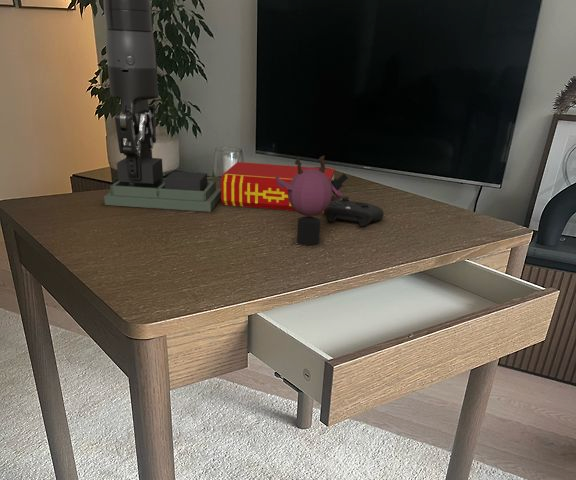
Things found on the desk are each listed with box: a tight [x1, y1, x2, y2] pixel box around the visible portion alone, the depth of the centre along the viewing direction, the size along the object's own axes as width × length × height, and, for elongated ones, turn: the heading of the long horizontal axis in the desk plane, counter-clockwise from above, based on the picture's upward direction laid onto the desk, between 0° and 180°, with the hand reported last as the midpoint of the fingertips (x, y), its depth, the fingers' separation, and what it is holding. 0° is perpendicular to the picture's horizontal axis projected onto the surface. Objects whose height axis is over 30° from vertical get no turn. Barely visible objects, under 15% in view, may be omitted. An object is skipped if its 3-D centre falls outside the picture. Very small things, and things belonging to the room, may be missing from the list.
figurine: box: [275, 155, 349, 246], centre depth 84 cm, size 8×8×12 cm
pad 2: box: [164, 171, 208, 191], centre depth 103 cm, size 6×6×3 cm
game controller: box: [325, 196, 385, 228], centre depth 98 cm, size 10×5×6 cm
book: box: [220, 161, 336, 214], centre depth 106 cm, size 18×13×5 cm
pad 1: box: [116, 157, 164, 184], centre depth 102 cm, size 6×6×3 cm
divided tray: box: [103, 177, 221, 213], centre depth 104 cm, size 18×10×3 cm, turn 85°
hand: (140, 175), depth 103 cm, fingers closed on pad 1, 6 cm apart
